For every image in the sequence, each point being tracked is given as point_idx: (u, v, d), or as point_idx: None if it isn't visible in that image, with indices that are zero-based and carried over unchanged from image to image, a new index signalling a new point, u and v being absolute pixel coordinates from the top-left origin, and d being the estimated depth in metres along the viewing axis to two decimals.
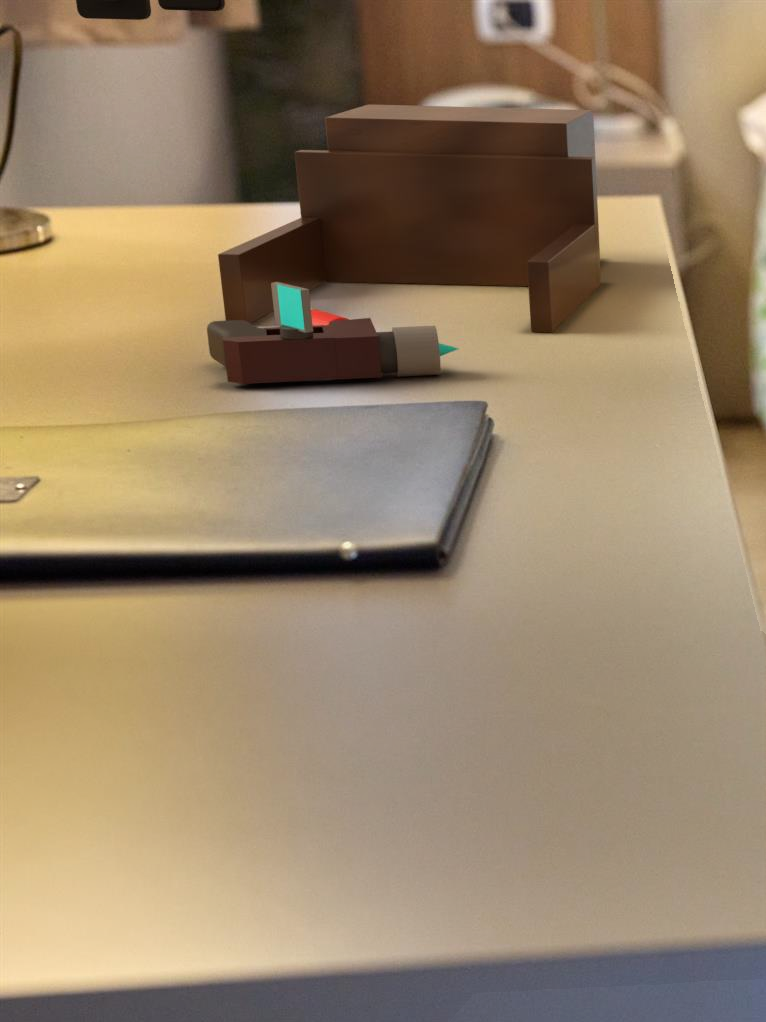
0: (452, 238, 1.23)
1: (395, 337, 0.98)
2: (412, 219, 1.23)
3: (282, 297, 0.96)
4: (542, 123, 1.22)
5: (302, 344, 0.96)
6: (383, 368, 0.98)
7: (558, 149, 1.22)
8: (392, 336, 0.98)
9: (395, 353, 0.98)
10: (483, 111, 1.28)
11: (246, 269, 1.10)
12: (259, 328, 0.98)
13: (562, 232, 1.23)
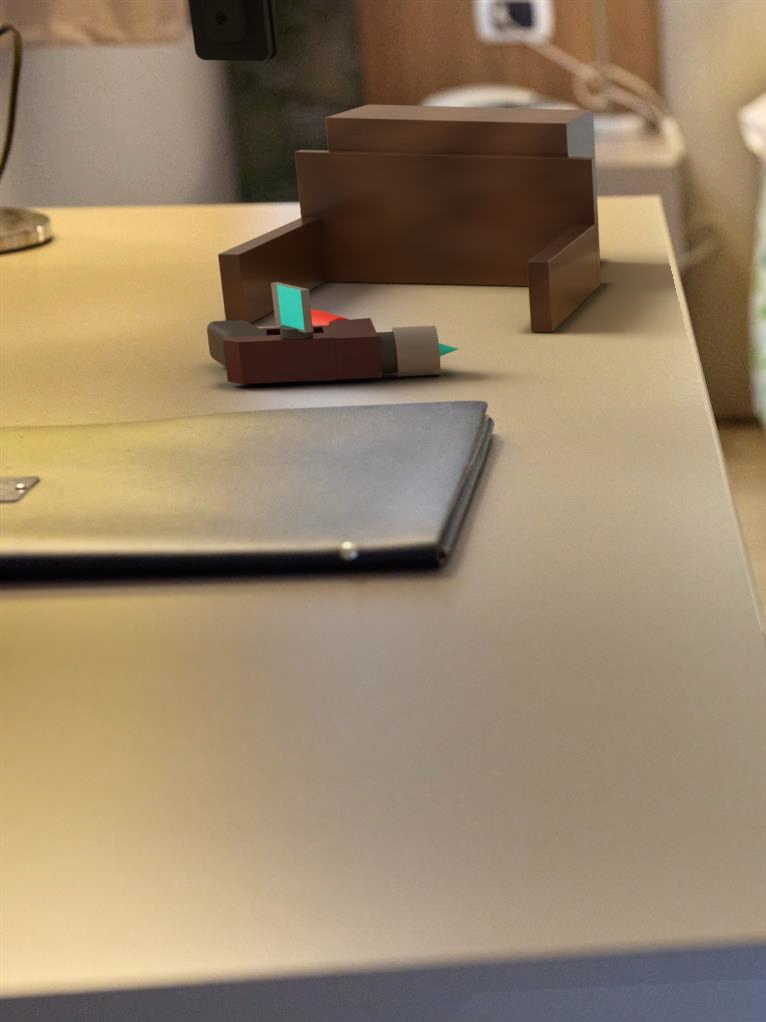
0: (452, 238, 1.23)
1: (395, 337, 0.98)
2: (412, 219, 1.23)
3: (282, 297, 0.96)
4: (542, 123, 1.22)
5: (302, 344, 0.96)
6: (383, 368, 0.98)
7: (558, 149, 1.22)
8: (392, 336, 0.98)
9: (395, 353, 0.98)
10: (483, 111, 1.28)
11: (246, 269, 1.10)
12: (259, 328, 0.98)
13: (562, 232, 1.23)
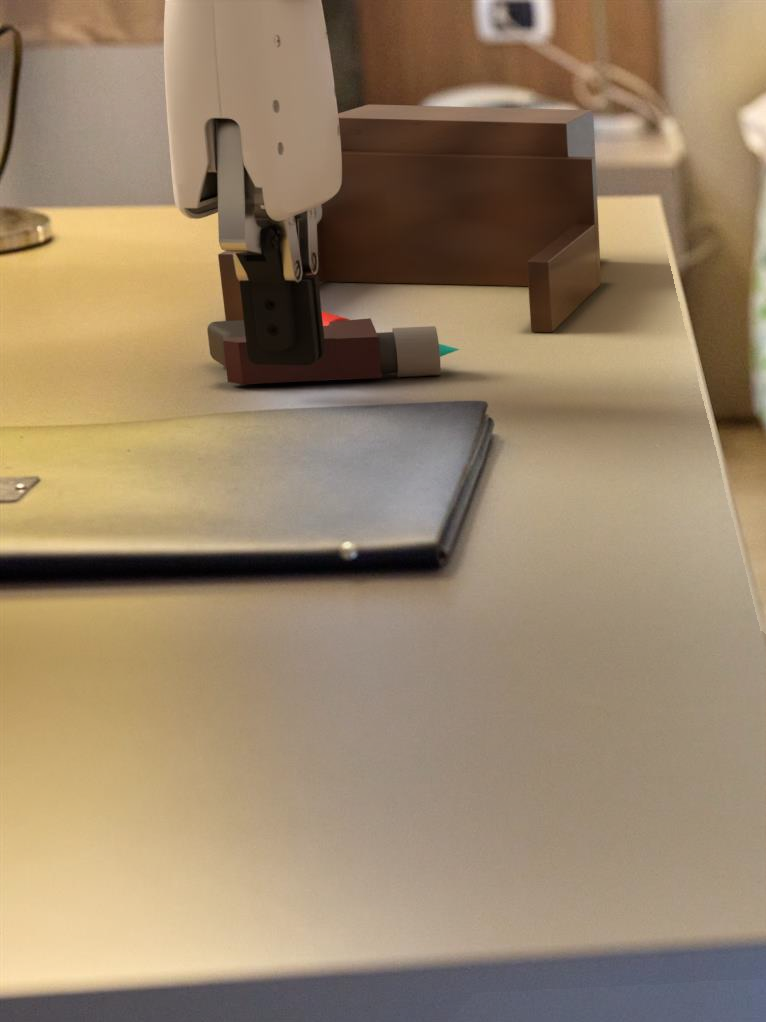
0: (452, 238, 1.23)
1: (395, 338, 0.98)
2: (412, 219, 1.23)
3: None
4: (542, 123, 1.22)
5: None
6: (383, 369, 0.98)
7: (558, 149, 1.22)
8: (392, 337, 0.98)
9: (395, 354, 0.98)
10: (483, 111, 1.28)
11: None
12: None
13: (562, 232, 1.23)
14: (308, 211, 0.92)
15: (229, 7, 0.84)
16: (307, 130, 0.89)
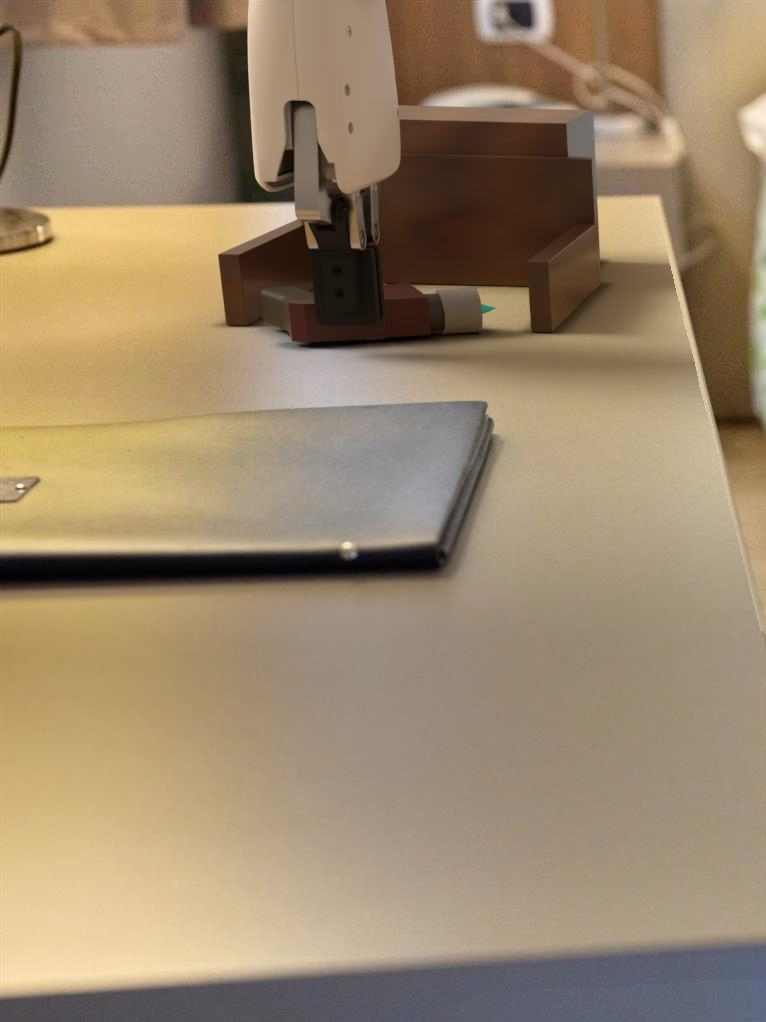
0: (452, 238, 1.23)
1: (442, 298, 1.08)
2: (412, 219, 1.23)
3: None
4: (542, 123, 1.22)
5: None
6: (431, 326, 1.08)
7: (558, 149, 1.22)
8: (439, 297, 1.08)
9: (442, 312, 1.08)
10: (483, 111, 1.28)
11: (246, 269, 1.10)
12: (313, 292, 1.08)
13: (562, 232, 1.23)
14: (371, 186, 1.02)
15: (307, 0, 0.94)
16: (373, 112, 0.99)
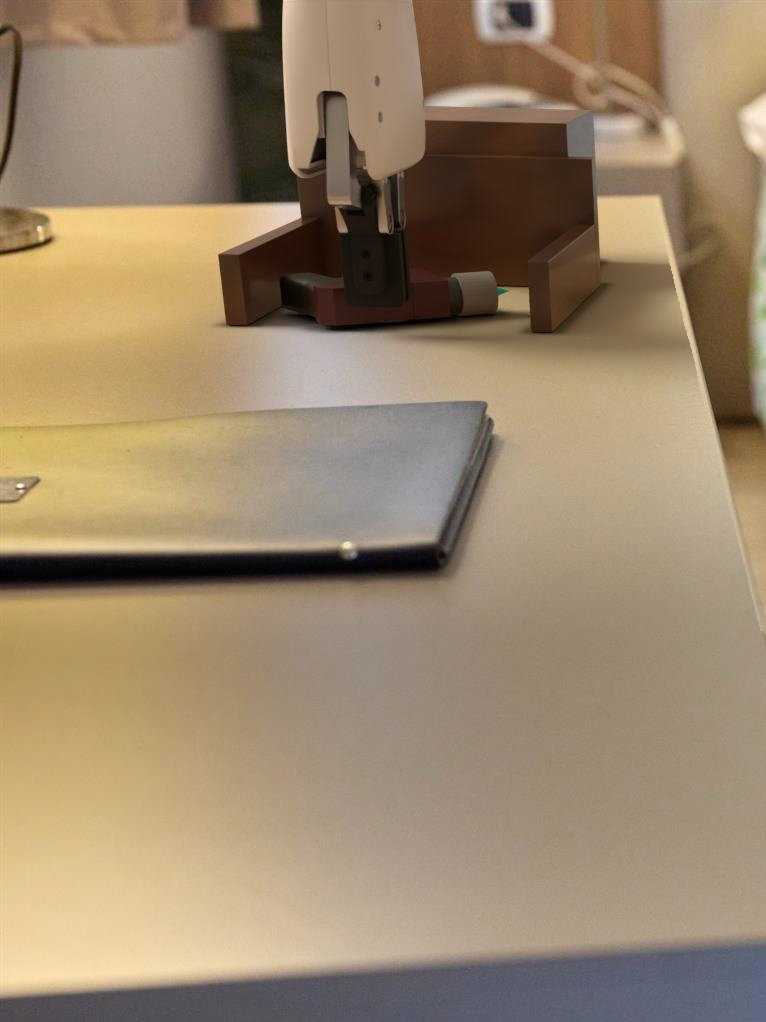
0: (452, 238, 1.23)
1: (460, 281, 1.13)
2: (412, 219, 1.23)
3: None
4: (542, 123, 1.22)
5: None
6: (450, 309, 1.13)
7: (558, 149, 1.22)
8: (457, 280, 1.13)
9: (461, 295, 1.13)
10: (483, 111, 1.28)
11: (246, 269, 1.10)
12: (335, 278, 1.12)
13: (562, 232, 1.23)
14: (398, 173, 1.07)
15: None
16: (400, 102, 1.03)
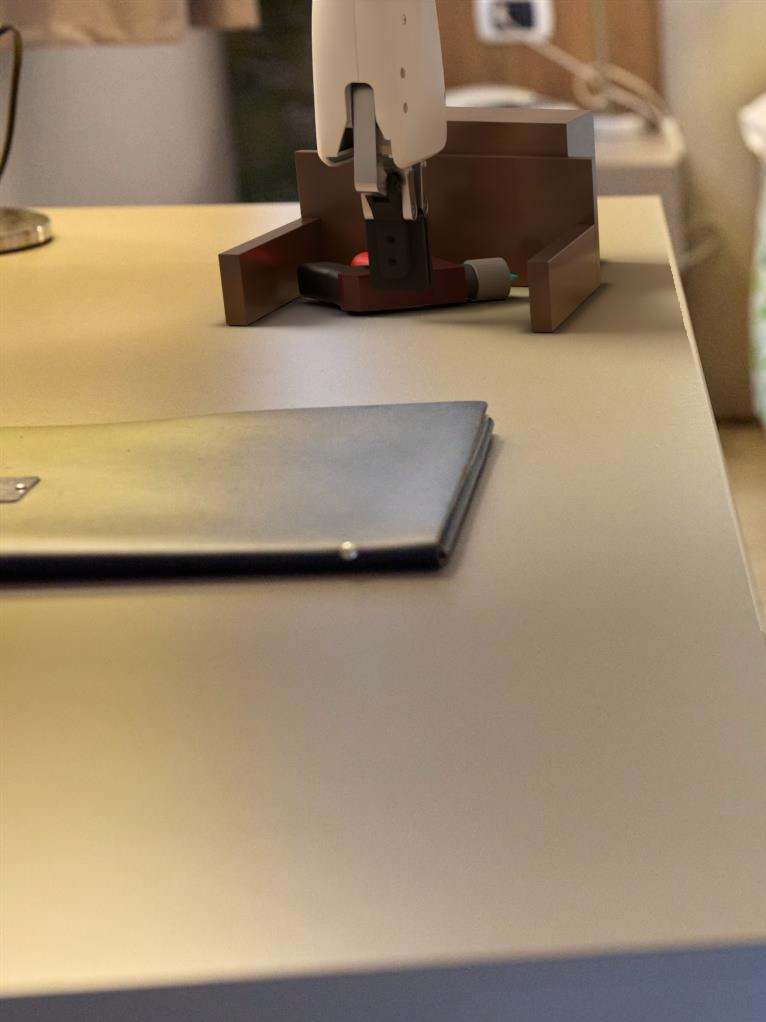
0: (452, 238, 1.23)
1: (475, 267, 1.18)
2: None
3: None
4: (542, 123, 1.22)
5: None
6: (466, 294, 1.18)
7: (558, 149, 1.22)
8: (471, 267, 1.18)
9: (476, 281, 1.18)
10: (483, 111, 1.28)
11: (246, 269, 1.10)
12: (354, 266, 1.16)
13: (562, 232, 1.23)
14: (421, 162, 1.11)
15: None
16: (424, 94, 1.08)
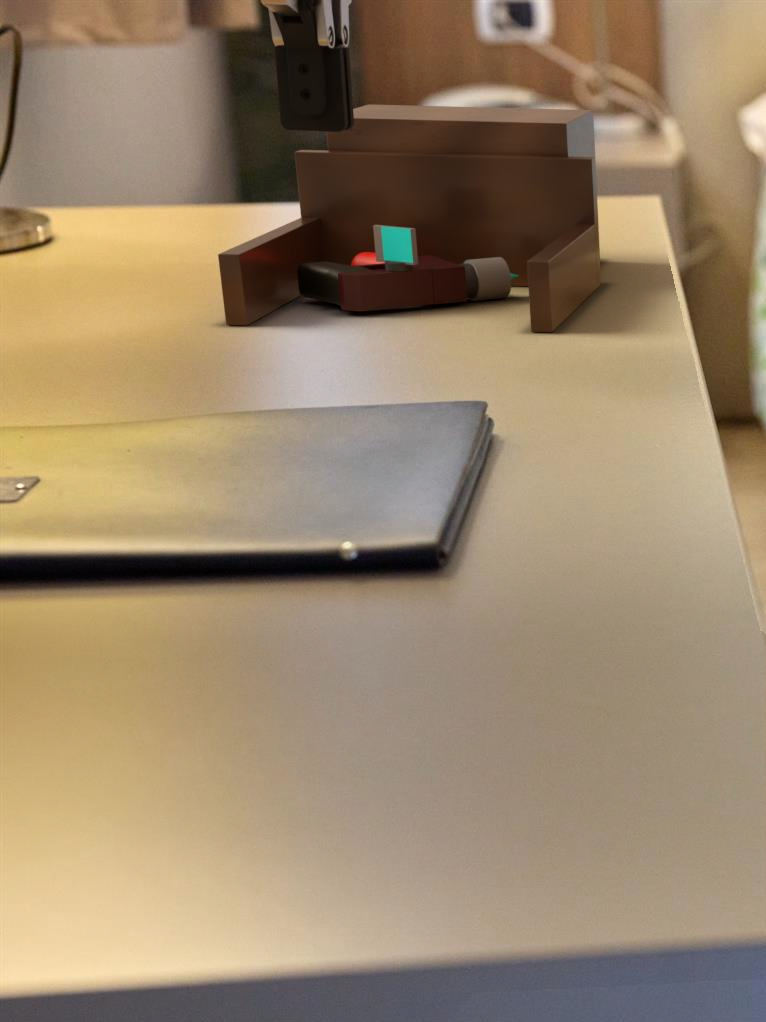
0: (452, 238, 1.23)
1: (475, 267, 1.18)
2: (412, 219, 1.23)
3: (387, 237, 1.14)
4: (542, 123, 1.22)
5: (407, 275, 1.15)
6: (466, 294, 1.18)
7: (558, 149, 1.22)
8: (472, 266, 1.18)
9: (476, 280, 1.18)
10: (483, 111, 1.28)
11: (246, 269, 1.10)
12: (354, 266, 1.16)
13: (562, 232, 1.23)
14: None
15: None
16: None
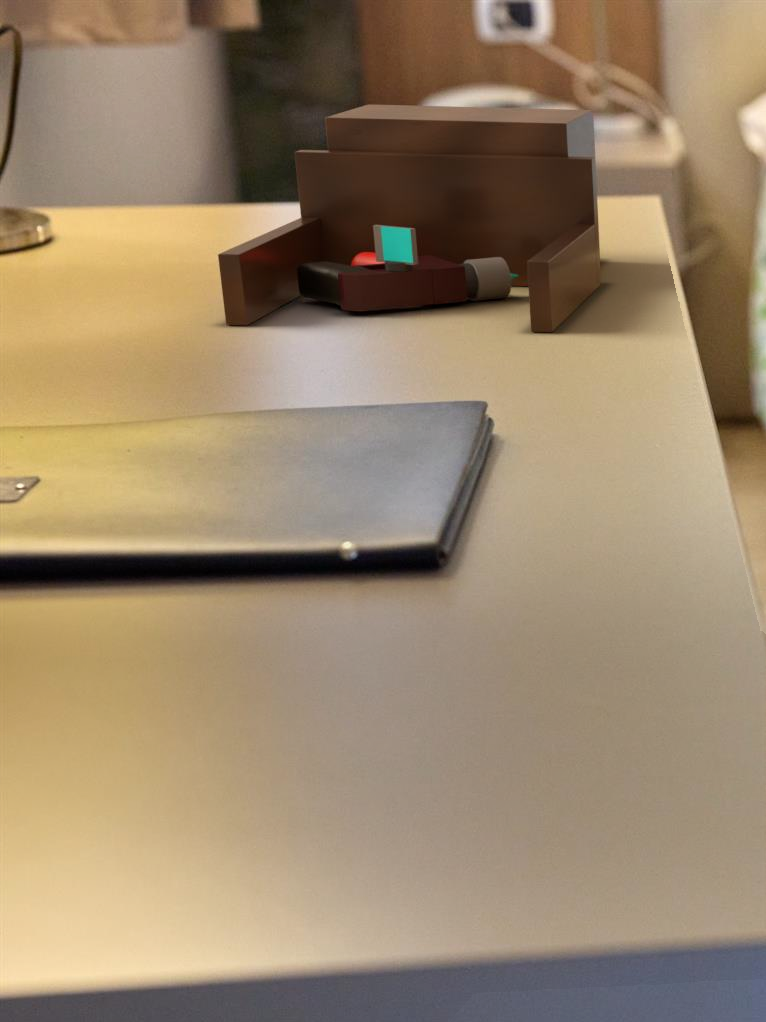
0: (452, 238, 1.23)
1: (475, 267, 1.18)
2: (412, 219, 1.23)
3: (387, 237, 1.14)
4: (542, 123, 1.22)
5: (407, 275, 1.15)
6: (466, 293, 1.18)
7: (558, 149, 1.22)
8: (472, 266, 1.18)
9: (476, 280, 1.18)
10: (483, 111, 1.28)
11: (246, 269, 1.10)
12: (354, 266, 1.16)
13: (562, 232, 1.23)
14: None
15: None
16: None
